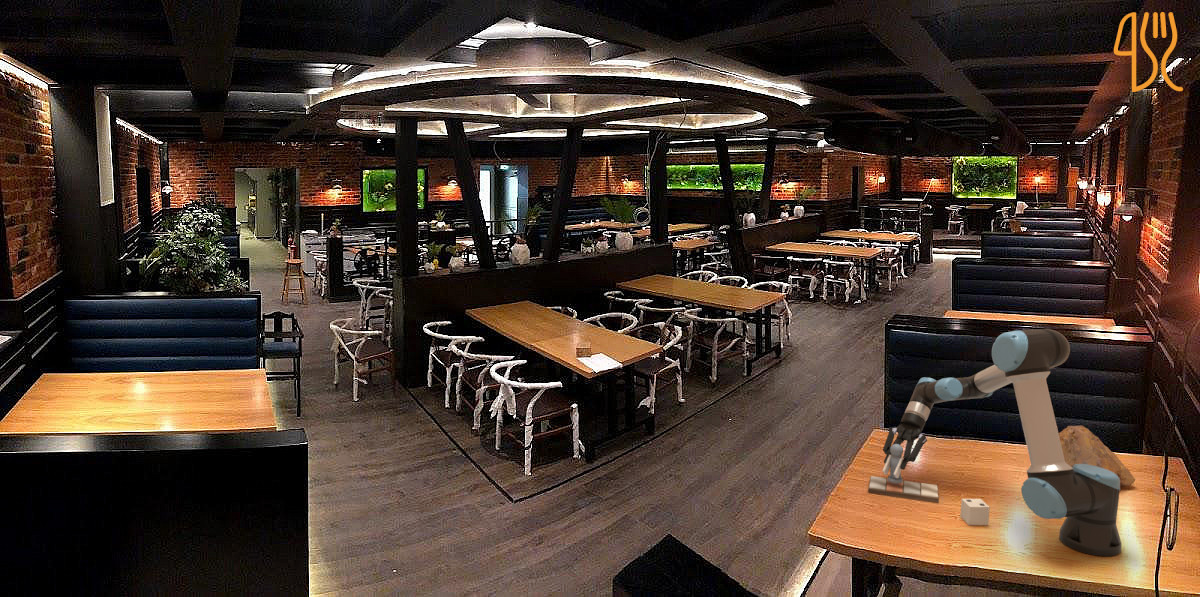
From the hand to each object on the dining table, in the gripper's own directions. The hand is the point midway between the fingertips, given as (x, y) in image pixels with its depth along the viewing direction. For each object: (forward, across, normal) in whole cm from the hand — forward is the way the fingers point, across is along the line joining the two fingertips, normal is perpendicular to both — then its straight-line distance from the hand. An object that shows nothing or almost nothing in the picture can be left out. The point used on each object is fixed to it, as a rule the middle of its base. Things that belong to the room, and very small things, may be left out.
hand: (890, 474), depth 249 cm
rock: (-43, -42, -53) cm, 80 cm away
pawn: (0, 0, -5) cm, 5 cm away
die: (+5, -28, -4) cm, 29 cm away
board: (+1, -2, -8) cm, 9 cm away
